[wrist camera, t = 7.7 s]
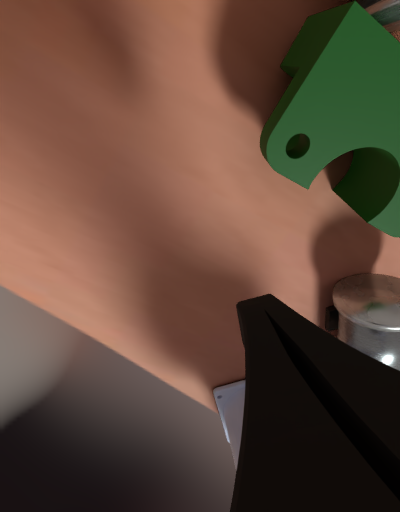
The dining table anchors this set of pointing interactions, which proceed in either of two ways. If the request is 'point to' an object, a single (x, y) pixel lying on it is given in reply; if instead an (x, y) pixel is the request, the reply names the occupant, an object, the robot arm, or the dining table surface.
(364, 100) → the clamp
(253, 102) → the dining table surface
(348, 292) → the pipe run
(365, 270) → the dining table surface
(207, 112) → the dining table surface
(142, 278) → the dining table surface
